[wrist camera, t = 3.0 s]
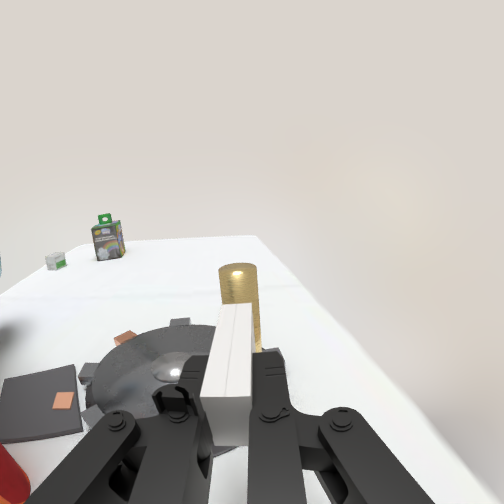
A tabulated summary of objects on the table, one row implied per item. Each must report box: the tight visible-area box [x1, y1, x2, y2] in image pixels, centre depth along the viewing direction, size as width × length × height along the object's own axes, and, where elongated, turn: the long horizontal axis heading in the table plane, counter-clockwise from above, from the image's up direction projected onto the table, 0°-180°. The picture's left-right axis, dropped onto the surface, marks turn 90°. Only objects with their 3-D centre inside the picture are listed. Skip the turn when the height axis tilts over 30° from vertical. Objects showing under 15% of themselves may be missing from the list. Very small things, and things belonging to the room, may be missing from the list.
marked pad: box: [0, 364, 83, 444], centre depth 19 cm, size 12×12×1 cm
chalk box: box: [91, 213, 125, 261], centre depth 83 cm, size 9×9×15 cm
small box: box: [45, 252, 67, 270], centre depth 75 cm, size 6×6×5 cm
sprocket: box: [78, 263, 285, 429], centre depth 25 cm, size 23×23×13 cm
